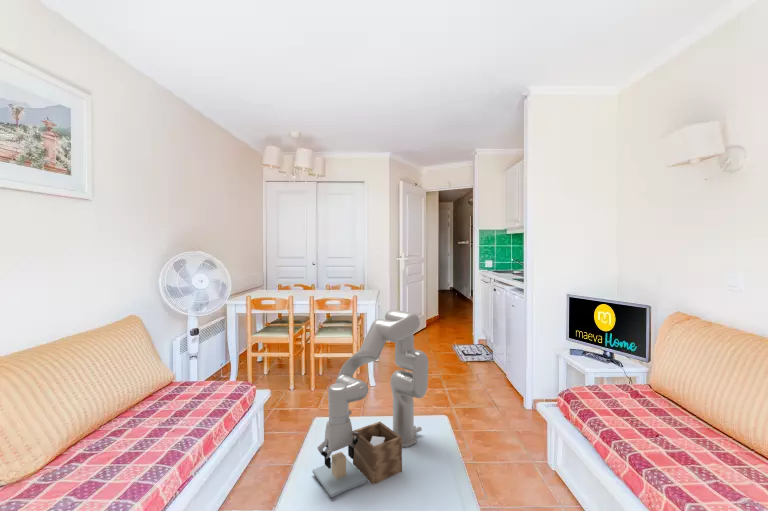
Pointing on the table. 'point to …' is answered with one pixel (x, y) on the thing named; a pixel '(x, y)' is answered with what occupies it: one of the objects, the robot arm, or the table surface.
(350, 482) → the lid
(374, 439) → the small box
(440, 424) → the table surface
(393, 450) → the crate
